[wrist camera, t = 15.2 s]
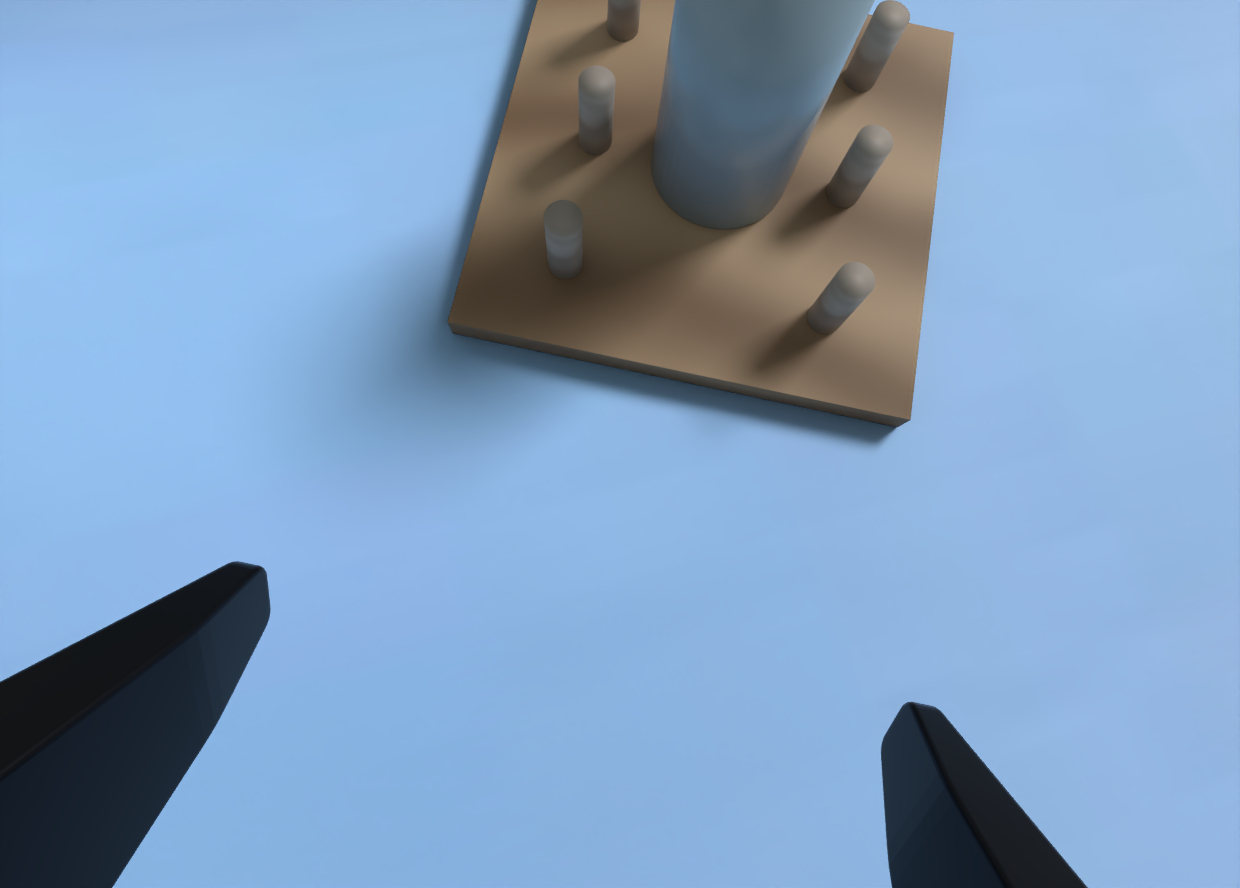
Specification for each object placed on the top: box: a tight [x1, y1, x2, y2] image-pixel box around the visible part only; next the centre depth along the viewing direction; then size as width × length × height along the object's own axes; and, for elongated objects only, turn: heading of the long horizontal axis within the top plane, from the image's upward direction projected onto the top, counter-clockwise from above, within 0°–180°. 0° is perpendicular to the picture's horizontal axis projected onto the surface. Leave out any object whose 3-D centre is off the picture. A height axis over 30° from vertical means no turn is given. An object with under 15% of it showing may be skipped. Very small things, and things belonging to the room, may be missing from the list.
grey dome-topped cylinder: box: [651, 0, 875, 229], centre depth 21 cm, size 5×5×10 cm
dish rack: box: [448, 0, 954, 427], centre depth 25 cm, size 16×16×4 cm
